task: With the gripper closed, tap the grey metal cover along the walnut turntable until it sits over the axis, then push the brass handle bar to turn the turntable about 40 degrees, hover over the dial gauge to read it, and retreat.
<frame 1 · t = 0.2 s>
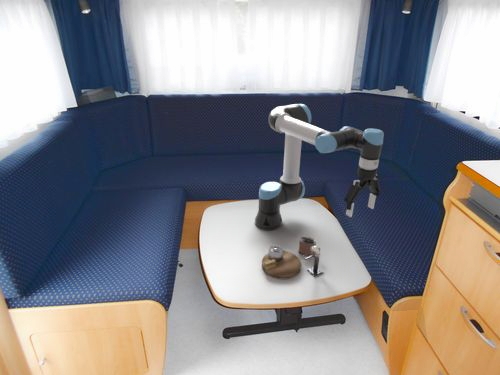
hand: (359, 211, 152), 28 cm above the table, fingers open, 13 cm apart
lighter: (306, 254, 170), on the table
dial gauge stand: (315, 271, 158), on the table
turntable: (281, 261, 159), point 3 cm above the table, hinge at 0.0°, touching cover
cover: (275, 257, 163), point 2 cm above the table, touching turntable
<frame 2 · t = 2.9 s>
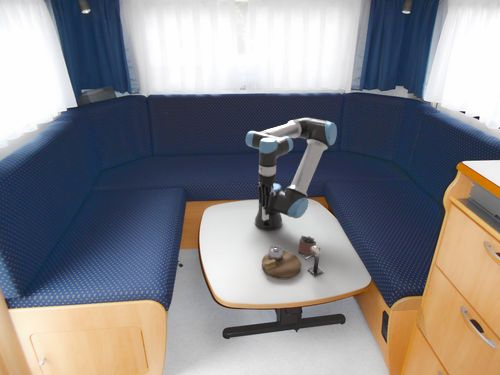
hand: (265, 219, 163), 18 cm above the table, fingers closed
nothing on the table moved.
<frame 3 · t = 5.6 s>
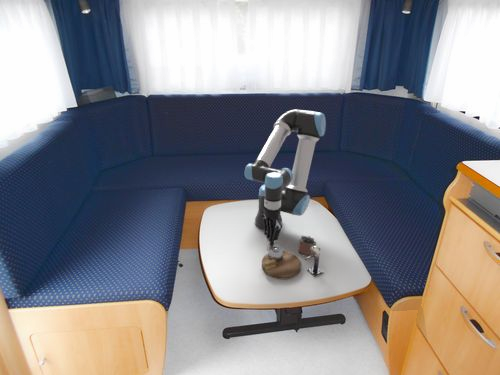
hand: (270, 250, 165), 4 cm above the table, fingers closed
cover: (275, 257, 163), point 2 cm above the table, touching gripper, turntable
everything else where it was.
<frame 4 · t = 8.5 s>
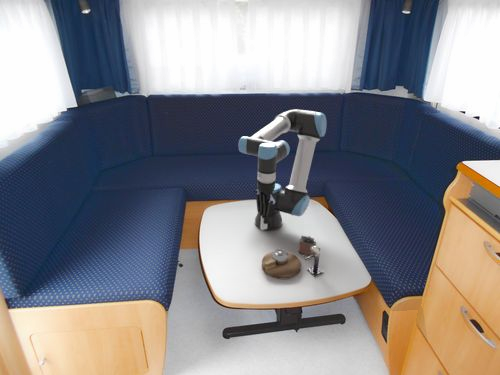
hand: (263, 228, 155), 19 cm above the table, fingers closed
cover: (279, 260, 161), point 2 cm above the table, touching turntable
everything else where it was.
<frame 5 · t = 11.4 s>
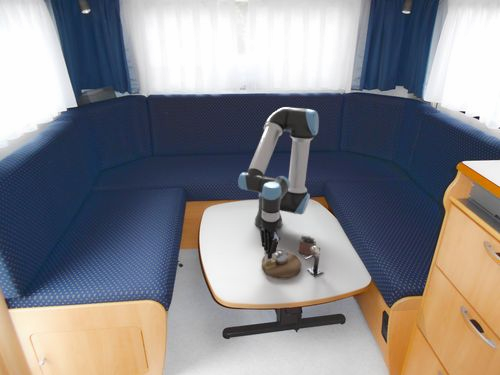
hand: (267, 262, 157), 4 cm above the table, fingers closed
turntable: (281, 261, 159), point 3 cm above the table, hinge at 0.5°, touching cover, gripper
everything else where it was.
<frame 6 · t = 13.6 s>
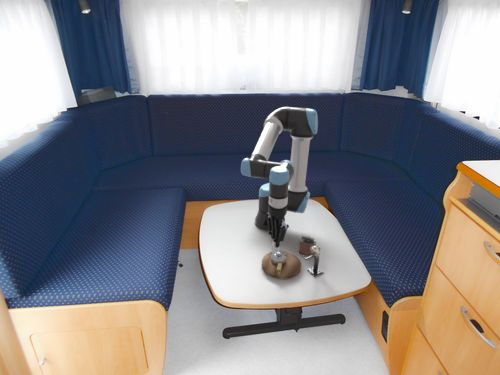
hand: (275, 251, 150), 13 cm above the table, fingers closed
turntable: (281, 261, 159), point 3 cm above the table, hinge at 43.6°, touching cover
cover: (278, 261, 160), point 2 cm above the table, touching turntable
everything else where it was.
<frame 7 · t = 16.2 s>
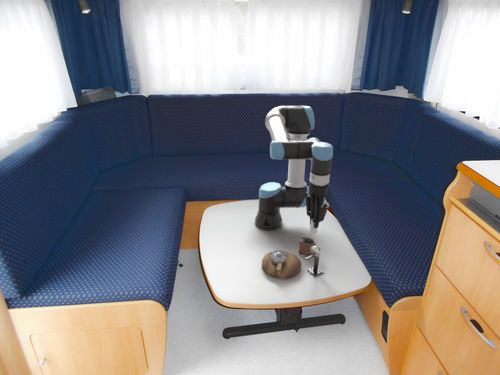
hand: (313, 232, 146), 22 cm above the table, fingers closed
nothing on the table moved.
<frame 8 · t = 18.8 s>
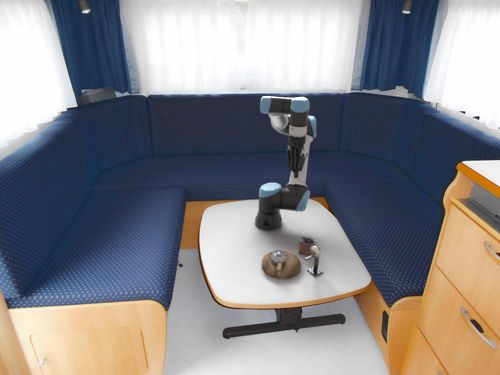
hand: (293, 183, 161), 34 cm above the table, fingers closed
nothing on the table moved.
at the end: cover 1.4 cm from the turntable (horizontally); turntable at +44° (first picture: +0°); cover tilted 0° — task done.
